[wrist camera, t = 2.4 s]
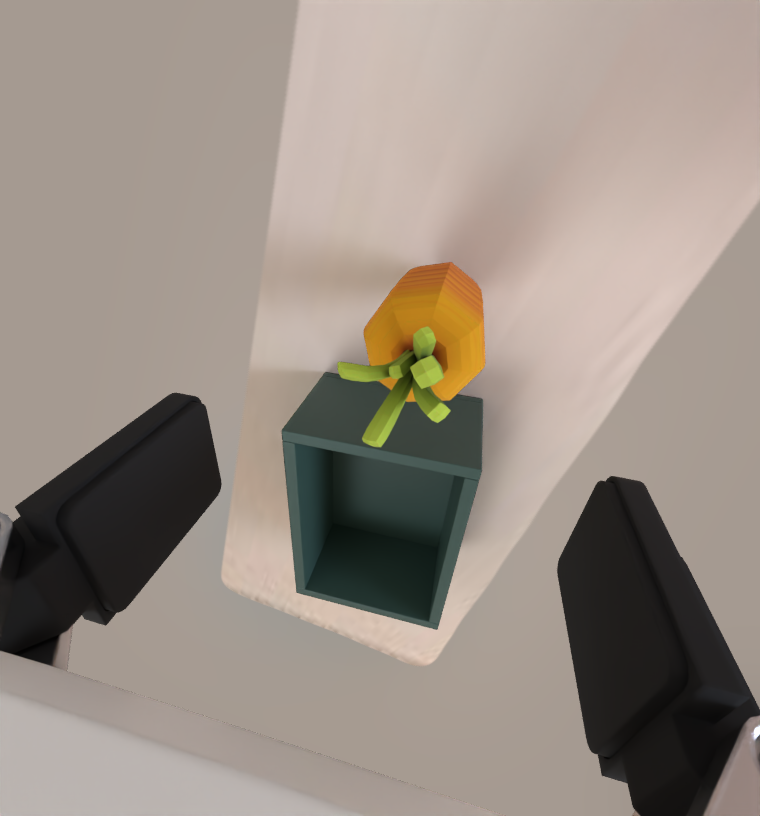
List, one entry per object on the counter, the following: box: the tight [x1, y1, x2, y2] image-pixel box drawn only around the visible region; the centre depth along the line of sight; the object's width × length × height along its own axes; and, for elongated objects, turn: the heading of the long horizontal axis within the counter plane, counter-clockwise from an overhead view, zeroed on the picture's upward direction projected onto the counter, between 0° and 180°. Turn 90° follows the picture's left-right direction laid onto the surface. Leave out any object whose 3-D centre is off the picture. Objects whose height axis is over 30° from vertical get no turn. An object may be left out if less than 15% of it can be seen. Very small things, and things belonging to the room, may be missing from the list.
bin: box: [282, 372, 483, 630], centre depth 30 cm, size 17×12×8 cm
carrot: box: [338, 262, 485, 447], centre depth 17 cm, size 5×5×15 cm
